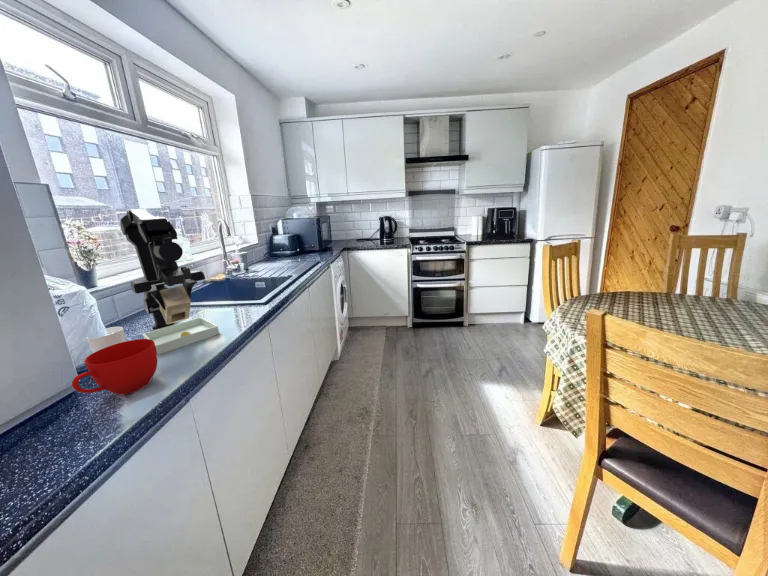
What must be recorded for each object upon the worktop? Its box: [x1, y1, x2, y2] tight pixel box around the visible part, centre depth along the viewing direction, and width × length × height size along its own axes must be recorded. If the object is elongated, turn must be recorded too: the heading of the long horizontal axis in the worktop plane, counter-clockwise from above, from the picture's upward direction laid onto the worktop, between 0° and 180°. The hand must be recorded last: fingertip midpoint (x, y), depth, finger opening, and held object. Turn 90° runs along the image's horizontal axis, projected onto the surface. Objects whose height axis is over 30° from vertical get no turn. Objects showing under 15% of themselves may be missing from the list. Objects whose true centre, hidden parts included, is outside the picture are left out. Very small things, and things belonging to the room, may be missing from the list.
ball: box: [180, 332, 190, 337], centre depth 98 cm, size 3×3×3 cm
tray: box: [142, 316, 220, 356], centre depth 102 cm, size 16×18×3 cm
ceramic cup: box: [71, 338, 158, 396], centre depth 71 cm, size 13×17×10 cm
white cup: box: [85, 326, 127, 354], centre depth 86 cm, size 8×8×10 cm
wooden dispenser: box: [160, 284, 192, 325], centre depth 97 cm, size 6×6×12 cm
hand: (176, 306), depth 97 cm, fingers closed on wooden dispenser, 6 cm apart
